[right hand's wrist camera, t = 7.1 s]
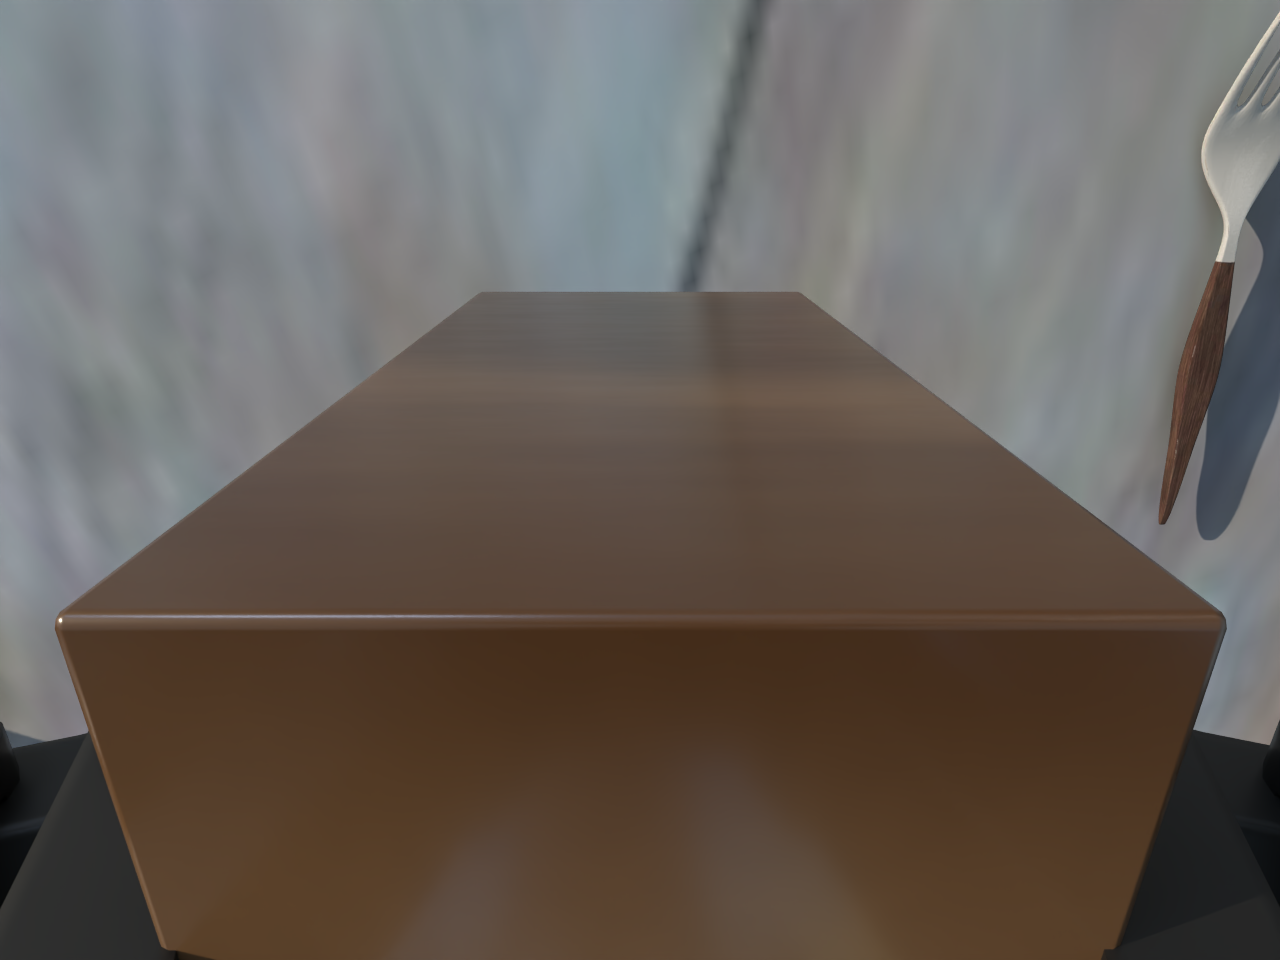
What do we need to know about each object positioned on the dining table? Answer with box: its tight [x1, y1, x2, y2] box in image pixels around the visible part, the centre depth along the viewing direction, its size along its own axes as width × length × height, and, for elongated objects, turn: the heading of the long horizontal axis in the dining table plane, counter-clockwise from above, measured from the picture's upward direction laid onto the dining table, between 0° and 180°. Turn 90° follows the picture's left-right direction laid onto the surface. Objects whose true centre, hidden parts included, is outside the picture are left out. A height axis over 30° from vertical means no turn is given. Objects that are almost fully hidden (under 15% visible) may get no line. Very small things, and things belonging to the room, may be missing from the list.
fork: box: [1159, 12, 1280, 524], centre depth 24 cm, size 3×16×2 cm, turn 2°
